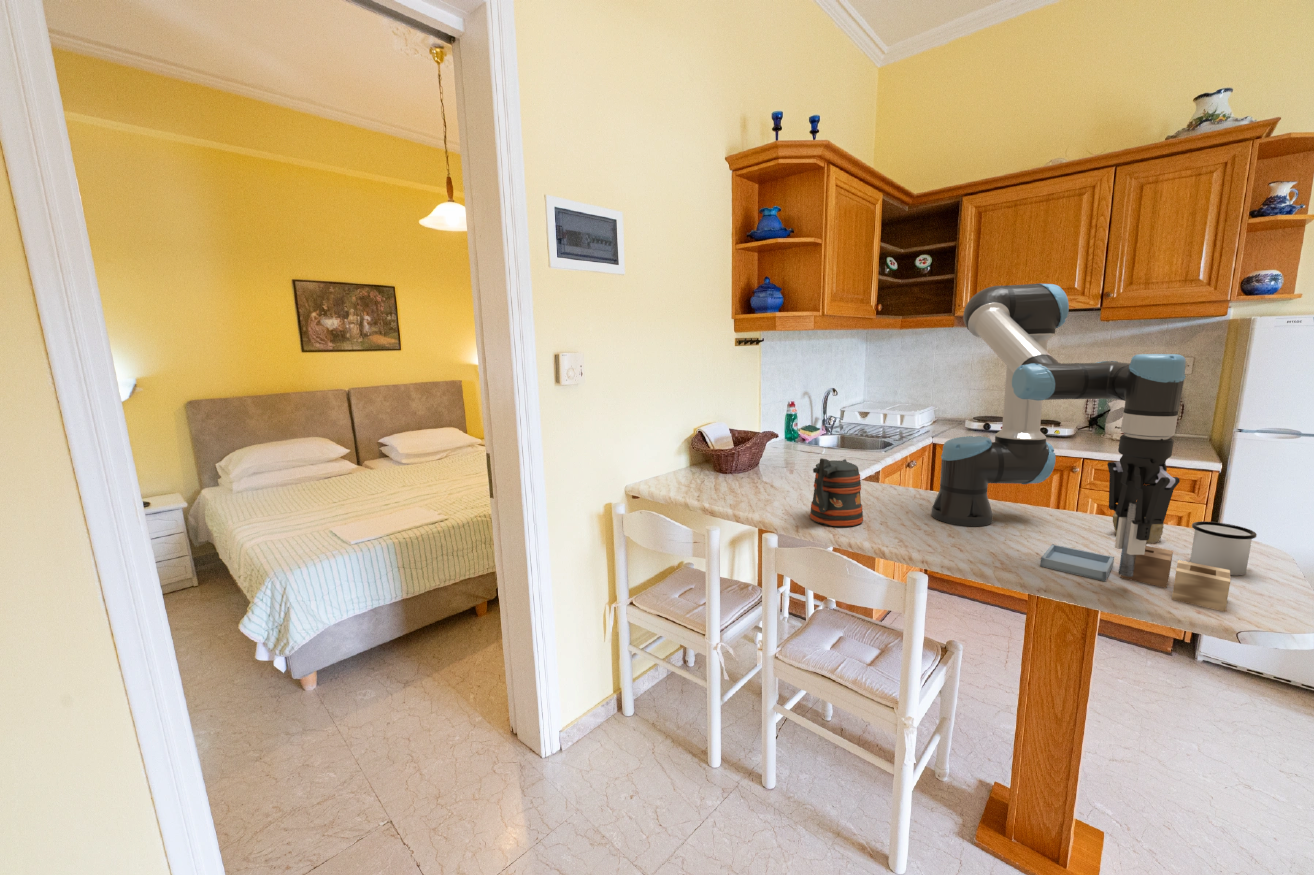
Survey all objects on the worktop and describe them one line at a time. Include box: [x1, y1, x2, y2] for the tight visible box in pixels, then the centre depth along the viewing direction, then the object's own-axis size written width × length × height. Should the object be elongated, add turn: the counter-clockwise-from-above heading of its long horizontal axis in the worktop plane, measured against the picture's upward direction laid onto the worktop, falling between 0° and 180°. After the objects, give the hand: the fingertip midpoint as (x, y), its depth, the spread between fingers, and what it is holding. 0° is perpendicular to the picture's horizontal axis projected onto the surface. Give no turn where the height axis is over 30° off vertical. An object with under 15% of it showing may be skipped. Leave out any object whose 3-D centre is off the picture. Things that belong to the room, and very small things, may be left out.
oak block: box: [1171, 559, 1231, 613], centre depth 99 cm, size 7×7×6 cm
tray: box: [1039, 543, 1115, 582], centre depth 115 cm, size 11×11×2 cm
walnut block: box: [1120, 545, 1174, 589], centre depth 108 cm, size 7×7×6 cm
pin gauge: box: [1118, 501, 1137, 577], centre depth 102 cm, size 2×2×15 cm
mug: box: [1189, 521, 1258, 577], centre depth 112 cm, size 12×10×9 cm
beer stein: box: [809, 458, 864, 528], centre depth 147 cm, size 19×15×20 cm
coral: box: [1112, 511, 1165, 544], centre depth 130 cm, size 9×9×8 cm
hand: (1129, 550), depth 103 cm, fingers closed on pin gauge, 2 cm apart
